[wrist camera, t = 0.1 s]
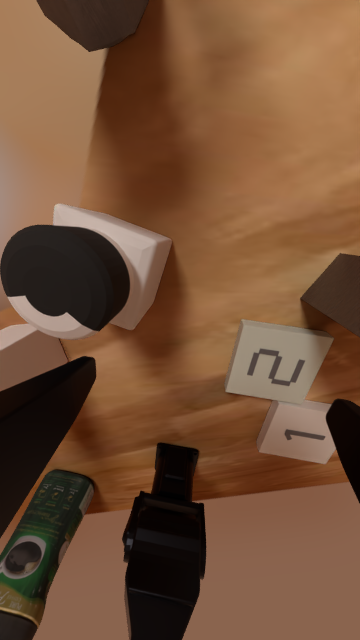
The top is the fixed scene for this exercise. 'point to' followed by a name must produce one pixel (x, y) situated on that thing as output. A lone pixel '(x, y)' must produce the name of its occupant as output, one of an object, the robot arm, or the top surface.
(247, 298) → the top surface
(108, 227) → the medicine bottle
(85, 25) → the coffeepot
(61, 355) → the milk
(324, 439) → the tile
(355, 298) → the tea tin
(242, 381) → the tile
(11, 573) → the coffee jar
